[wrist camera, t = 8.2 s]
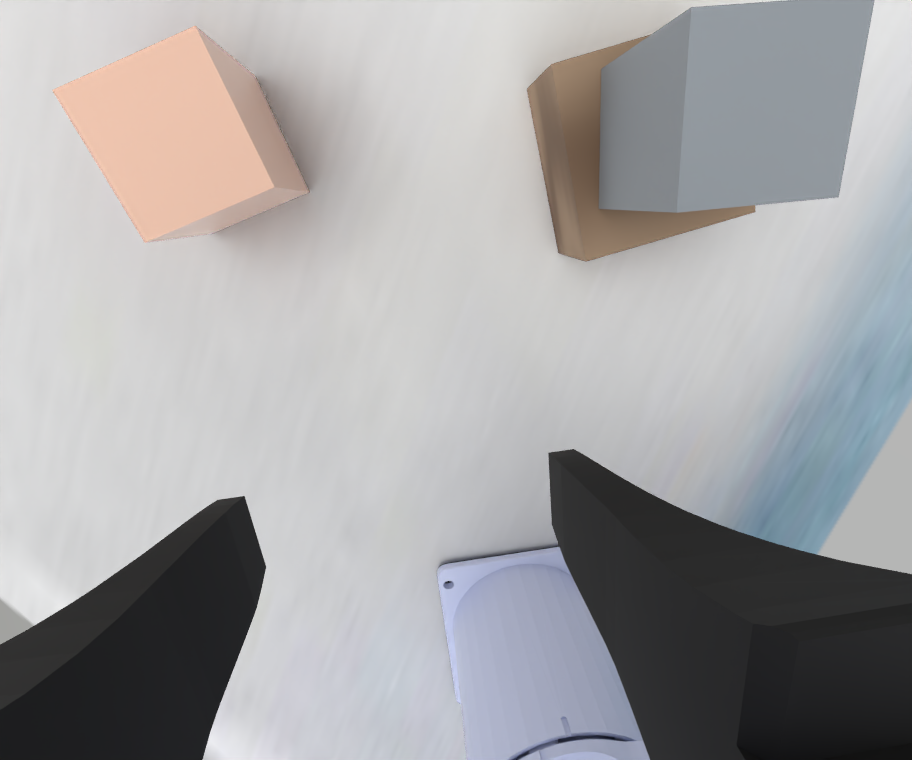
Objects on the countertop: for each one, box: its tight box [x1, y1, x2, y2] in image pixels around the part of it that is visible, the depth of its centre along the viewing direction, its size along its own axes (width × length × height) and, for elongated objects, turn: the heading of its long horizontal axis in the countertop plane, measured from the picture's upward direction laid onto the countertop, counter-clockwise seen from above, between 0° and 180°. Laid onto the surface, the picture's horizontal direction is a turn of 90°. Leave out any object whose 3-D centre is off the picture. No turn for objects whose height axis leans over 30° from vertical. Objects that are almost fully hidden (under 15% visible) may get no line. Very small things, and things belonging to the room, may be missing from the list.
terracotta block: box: [52, 26, 309, 243], centre depth 15 cm, size 4×4×5 cm
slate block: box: [599, 0, 874, 213], centre depth 13 cm, size 4×4×5 cm
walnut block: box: [527, 34, 755, 261], centre depth 17 cm, size 6×6×4 cm
